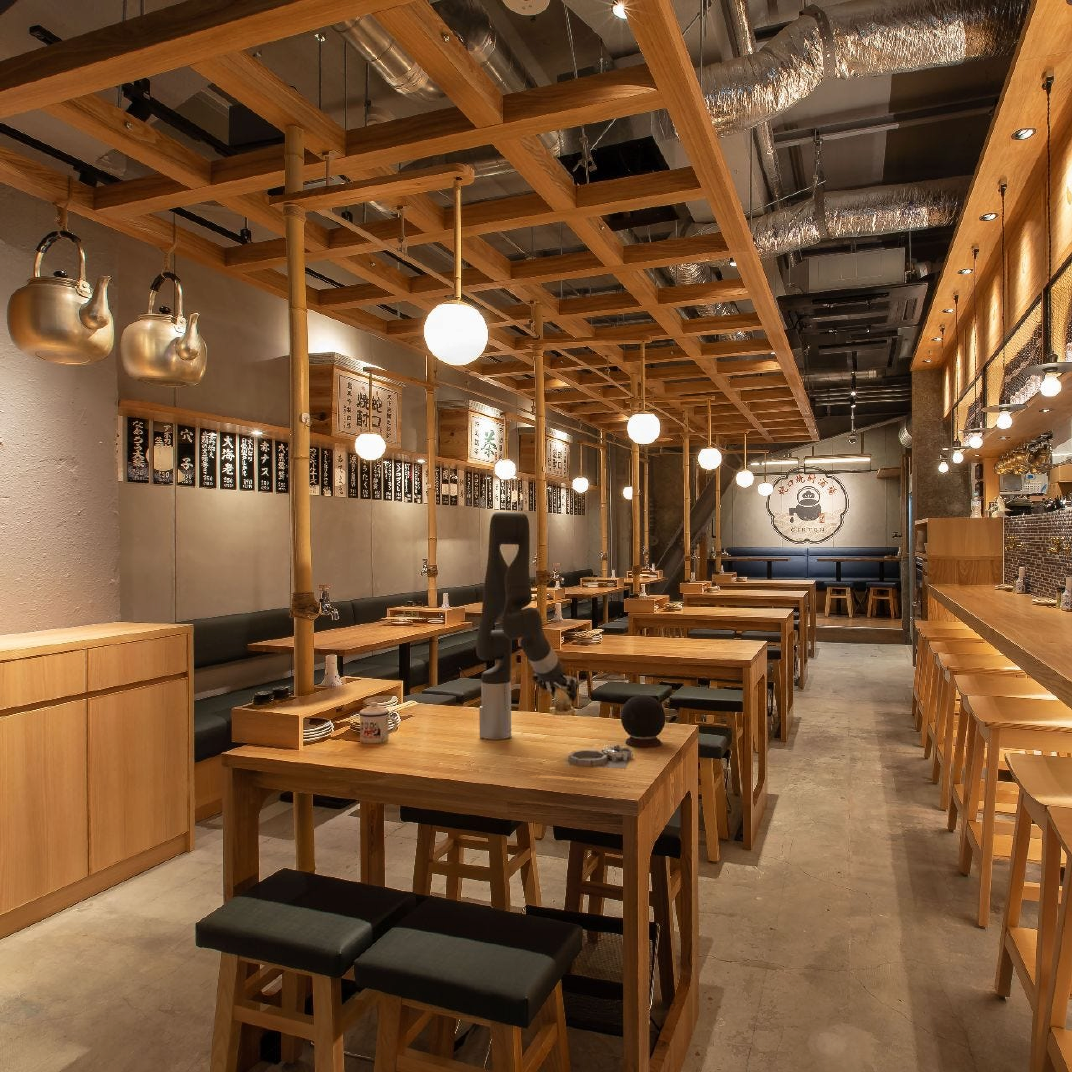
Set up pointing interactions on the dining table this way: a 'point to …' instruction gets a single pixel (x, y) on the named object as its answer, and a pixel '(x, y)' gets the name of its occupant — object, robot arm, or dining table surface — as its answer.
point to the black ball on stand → (643, 721)
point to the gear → (618, 753)
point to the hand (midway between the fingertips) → (565, 697)
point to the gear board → (609, 764)
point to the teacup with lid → (375, 724)
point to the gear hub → (562, 703)
